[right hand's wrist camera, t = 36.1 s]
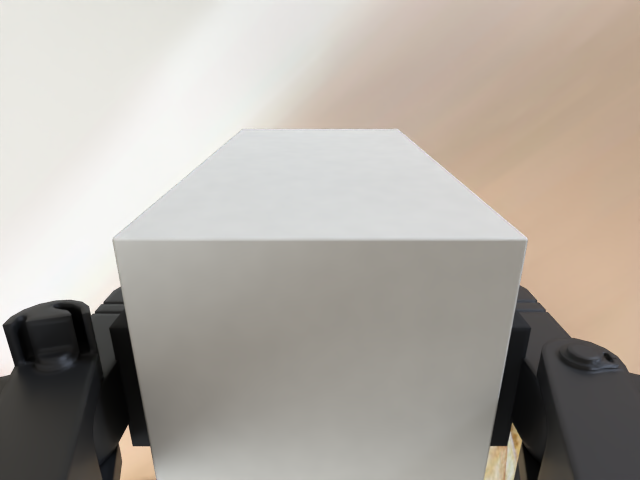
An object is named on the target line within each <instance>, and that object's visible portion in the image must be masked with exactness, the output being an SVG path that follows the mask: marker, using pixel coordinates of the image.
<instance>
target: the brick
mask: <svg viewBox="0 0 640 480" xmlns="http://www.w3.org/2000/svg"><path fill="white" fill-rule="evenodd" d="M527 242H528V240H527V237H525V236H524V235H523V234H522V233H521V232H520V231H518V230H517V229H516V228H515V227H514V226H512V225H511V224H510V223H509V222H508V221H506V220H505V219H504V218H503V217H502V216H501V215H499V214H498V213H497V212H496V211H495V210H493V209H492V208H491V207H490V206H489V205H487V204H486V203H485V202H484V201H483V200H482V199H480V198H479V197H478V196H477V195H476V194H474V193H473V192H472V191H471V190H470V189H468V188H467V187H466V186H465V185H464V184H463V183H461V182H460V181H459V180H458V179H457V178H455V177H454V176H453V175H452V174H451V173H449V172H448V171H447V170H446V169H445V168H444V167H442V166H441V165H440V164H439V163H438V162H436V161H435V160H434V159H433V158H432V157H430V156H429V155H428V154H427V153H426V152H425V151H423V150H422V149H421V148H420V147H419V146H417V145H416V144H415V143H414V142H413V141H411V140H410V139H409V138H408V137H407V136H406V135H404V134H403V133H402V132H401V131H400V130H398V129H242V130H241V131H240V132H238V133H237V134H236V135H235V136H234V137H233V138H231V139H230V140H229V141H228V142H227V143H225V144H224V145H223V146H222V147H221V148H219V149H218V150H217V151H216V152H215V153H213V154H212V155H211V156H210V157H209V158H208V159H206V160H205V161H204V162H203V163H202V164H200V165H199V166H198V167H197V168H196V169H194V170H193V171H192V172H191V173H190V174H189V175H187V176H186V177H185V178H184V179H183V180H181V181H180V182H179V183H178V184H177V185H175V186H174V187H173V188H172V189H171V190H169V191H168V192H167V193H166V194H165V195H164V196H162V197H161V198H160V199H159V200H158V201H156V202H155V203H154V204H153V205H152V206H150V207H149V208H148V209H147V210H146V211H144V212H143V213H142V214H141V215H140V216H139V217H137V218H136V219H135V220H134V221H133V222H131V223H130V224H129V225H128V226H127V227H125V228H124V229H123V230H122V231H121V232H120V233H118V234H117V235H116V236H115V237H114V238H113V246H114V251H115V257H116V262H117V268H118V273H119V278H120V284H121V289H122V295H123V300H124V306H125V311H126V317H127V322H128V327H129V333H130V338H131V344H132V349H133V355H134V360H135V365H136V371H137V376H138V382H139V387H140V393H141V398H142V404H143V409H144V414H145V420H146V425H147V431H148V436H149V442H150V447H151V453H152V458H153V463H154V469H155V474H156V480H484V476H485V470H486V465H487V460H488V454H489V449H490V443H491V438H492V432H493V427H494V421H495V416H496V411H497V405H498V400H499V394H500V389H501V383H502V378H503V373H504V367H505V362H506V356H507V351H508V345H509V340H510V334H511V329H512V324H513V318H514V313H515V307H516V302H517V296H518V291H519V286H520V280H521V275H522V269H523V264H524V258H525V253H526V247H527Z"/></svg>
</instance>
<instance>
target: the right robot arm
mask: <svg viewBox="0 0 640 480" xmlns="http://www.w3.org/2000/svg"><path fill="white" fill-rule="evenodd" d="M3 328H4V332H5V335H6V338H7V342H8V345H9V348H10V351H11V355H12V358H13V361H14V365H15V367H14V369H13V371H12V373H11V375H8V376H3V377H0V480H120V474H121V466H122V458H121V452H120V447H119V441H120V439H121V437H122V435H123V433H124V431H125V430H126V428H127V426H128V425H129V430H130V434H131V439H132V444H133V446H150V442H149V436H148V431H147V425H146V420H145V414H144V409H143V404H142V398H141V393H140V387H139V382H138V376H137V371H136V365H135V360H134V355H133V349H132V344H131V338H130V333H129V327H128V322H127V317H126V311H125V306H124V300H123V295H122V289H121V287H119V288H118V289H116V290H114V291H113V292H112V293H111V294H110V295H109V297H108V298H107V299H106V300H105V301H104V304H101V305H100V306H99V308H98V309H97V310H96V311H95V314H92V315H91V314H90V309H89V306H88V305H86V304H85V303H83V302H80V301H75V300H57V301H51V302H47V303H42V304H38V305H35V306H33V307H30V308H27V309H24V310H22V311H21V312H19V313H17V314H15V315H13V316H12V317H10V318H9V319H8V320H7V321H6V322H5V323H4V324H3ZM512 423H513V425H514V427H515V429H516V430H517V432H518V434H519V436H520V438H521V440H522V443H521V447H520V452H519V457H518V461H517V466H516V471H515V475H514V480H640V375H637V374H633V373H629V372H628V370H627V368H626V366H625V365H624V364H623V362H622V361H621V360H620V359H619V358H618V357H617V356H616V355H614V354H613V353H611V352H610V351H608V350H607V349H605V348H603V347H601V346H598V345H596V344H594V343H591V342H588V341H584V340H580V339H576V338H571V337H570V336H569V335H568V334H567V332H566V331H565V330H564V329H563V328H562V327H561V326H560V325H559V324H558V323H557V322H556V321H555V319H554V318H553V317H552V316H551V315H550V314H549V313H548V312H546V310H545V309H544V307H543V306H542V305H541V304H540V303H537V300H536V299H535V298H534V297H533V295H532V294H531V293H530V292H529V291H528V290H527V289H526V288H524V287H522V286H519V291H518V296H517V302H516V307H515V313H514V318H513V324H512V329H511V334H510V340H509V345H508V351H507V356H506V362H505V367H504V373H503V378H502V383H501V389H500V394H499V400H498V405H497V411H496V416H495V421H494V427H493V432H492V438H491V443H490V446H508V441H509V436H510V431H511V426H512Z"/></svg>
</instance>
